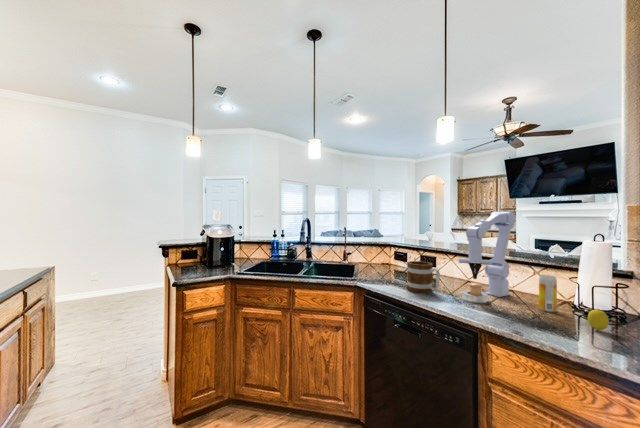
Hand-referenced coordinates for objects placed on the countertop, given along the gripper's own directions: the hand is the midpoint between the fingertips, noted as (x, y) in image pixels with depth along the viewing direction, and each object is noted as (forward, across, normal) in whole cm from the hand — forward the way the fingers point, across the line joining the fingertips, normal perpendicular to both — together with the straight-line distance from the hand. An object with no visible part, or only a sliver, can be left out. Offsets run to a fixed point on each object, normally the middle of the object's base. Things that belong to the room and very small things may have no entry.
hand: (474, 278), depth 140 cm
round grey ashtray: (+10, 0, 0) cm, 10 cm away
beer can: (+11, +28, -4) cm, 30 cm away
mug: (+11, -24, +4) cm, 26 cm away
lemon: (+11, +38, -24) cm, 46 cm away
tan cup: (+10, 0, 0) cm, 10 cm away
